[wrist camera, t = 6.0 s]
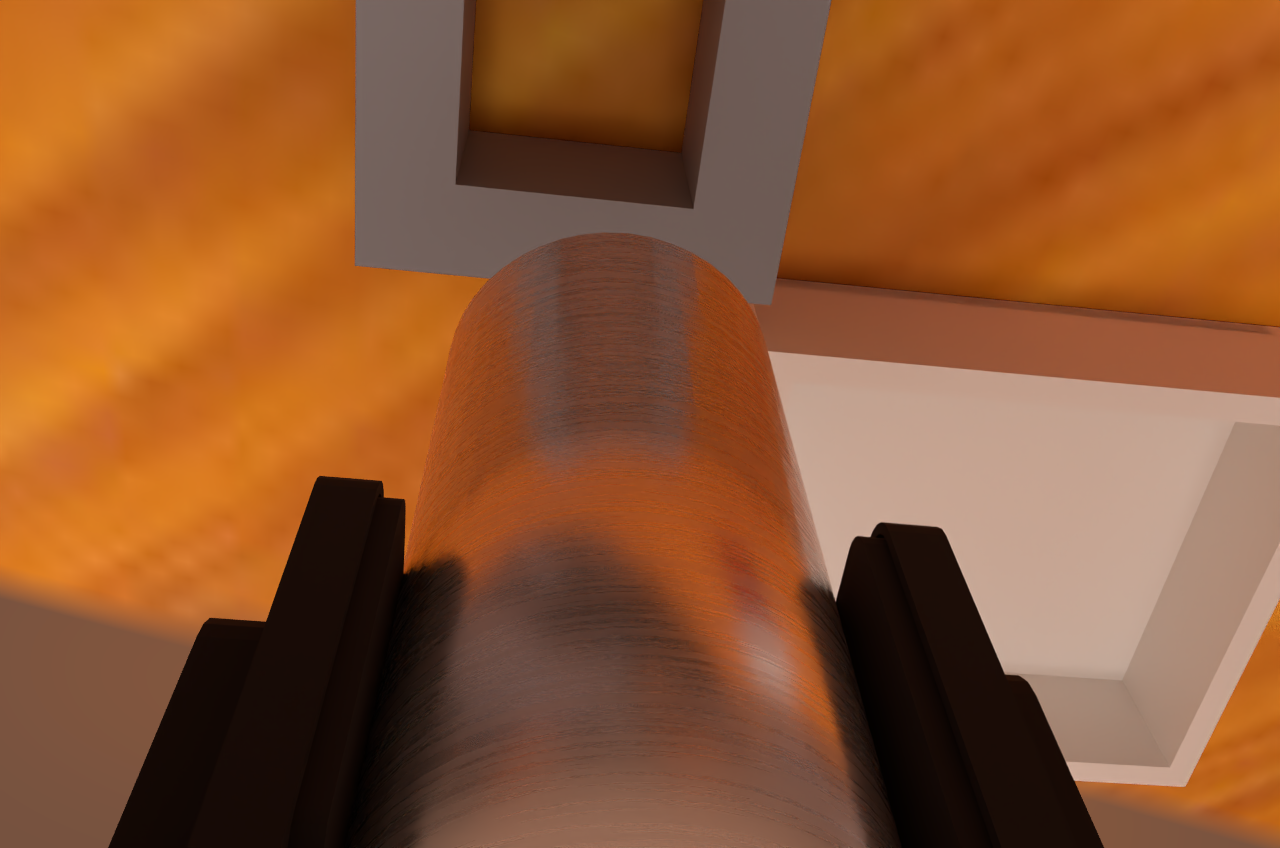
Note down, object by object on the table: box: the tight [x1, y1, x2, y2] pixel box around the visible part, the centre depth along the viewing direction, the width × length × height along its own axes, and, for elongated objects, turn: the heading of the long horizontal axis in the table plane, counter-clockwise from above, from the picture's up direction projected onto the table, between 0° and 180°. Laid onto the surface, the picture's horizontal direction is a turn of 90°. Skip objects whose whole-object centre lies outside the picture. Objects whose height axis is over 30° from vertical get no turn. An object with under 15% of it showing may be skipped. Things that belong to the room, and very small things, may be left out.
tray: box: [748, 278, 1280, 787], centre depth 36 cm, size 16×14×4 cm
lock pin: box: [345, 232, 902, 848], centre depth 10 cm, size 4×4×12 cm
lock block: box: [355, 0, 831, 305], centre depth 28 cm, size 10×10×4 cm
